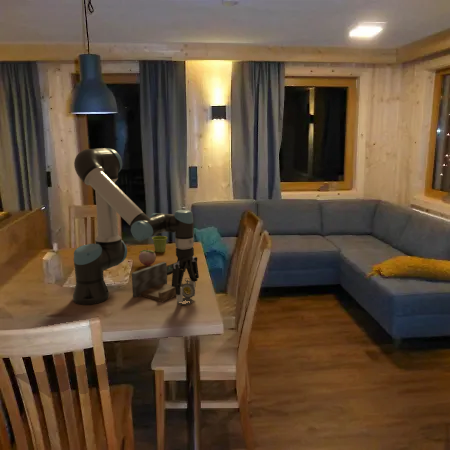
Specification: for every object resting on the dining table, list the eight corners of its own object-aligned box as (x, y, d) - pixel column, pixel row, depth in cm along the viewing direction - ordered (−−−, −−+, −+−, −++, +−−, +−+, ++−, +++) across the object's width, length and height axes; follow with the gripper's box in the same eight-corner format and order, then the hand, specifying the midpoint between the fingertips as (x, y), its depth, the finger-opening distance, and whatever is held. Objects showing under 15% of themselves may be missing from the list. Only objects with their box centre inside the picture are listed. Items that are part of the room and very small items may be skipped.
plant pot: (162, 248, 263) (162, 235, 261) (170, 251, 256) (170, 237, 254) (149, 251, 257) (149, 237, 256) (157, 254, 250) (157, 240, 249)
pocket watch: (178, 306, 174) (177, 284, 172) (175, 299, 182) (174, 277, 180) (197, 304, 176) (197, 282, 174) (193, 297, 184) (193, 275, 182)
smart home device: (153, 270, 216) (178, 261, 233) (153, 273, 217) (178, 264, 233) (165, 273, 212) (189, 263, 228) (165, 276, 212) (189, 266, 228)
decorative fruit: (158, 263, 232) (157, 246, 230) (154, 268, 224) (153, 250, 222) (141, 263, 233) (141, 246, 231) (137, 268, 225) (136, 250, 223)
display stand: (157, 304, 177) (156, 279, 175) (132, 296, 186) (131, 272, 183) (187, 290, 193) (187, 267, 191) (164, 283, 201) (163, 261, 199)
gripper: (174, 254, 164) (176, 308, 169) (206, 243, 180) (207, 292, 185) (161, 251, 168) (163, 304, 173) (193, 240, 184) (194, 289, 189)
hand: (186, 298), depth 179 cm, fingers open, 8 cm apart
